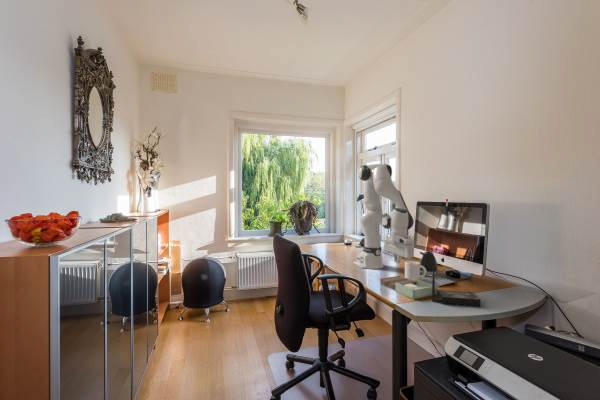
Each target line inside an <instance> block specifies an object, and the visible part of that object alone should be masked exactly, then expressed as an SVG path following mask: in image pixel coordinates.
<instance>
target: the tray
mask: <svg viewBox="0 0 600 400" xmlns="http://www.w3.org/2000/svg"><path fill="white" fill-rule="evenodd" d="M416 282H417V286H418V287H422V288H419V289H411V288H409V287H406V286H404V285H401V284H399V283H395V290H394V291H395V292H396V293H398V294H400V295H402V296H405V297H407V298H408V299H412V300H413V301H414V300H417V299H423V298H429V297H432V283H430V282H428V281H425V280H421V279H417V281H416ZM437 290H438V285H436V284H435V296H437Z"/></svg>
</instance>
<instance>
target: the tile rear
mask: <svg viewBox="0 0 600 400" xmlns="http://www.w3.org/2000/svg"><path fill="white" fill-rule="evenodd" d="M404 286H406V287H409V288H411V289H413V288H416V287H418V286H416V285H414V284H405V285H404Z"/></svg>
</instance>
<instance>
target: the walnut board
mask: <svg viewBox="0 0 600 400" xmlns="http://www.w3.org/2000/svg"><path fill="white" fill-rule="evenodd" d="M395 283H399V284H401V285H405V284H414V285H416V286H417V281H416V282H415V281H412V280H409V279H407V278H405V276H404V277H403V276H401V275H395V276H389V277H383V278H380V283H379V284H380V285H382V286H384V287H387V288H388V289H391V290H393V291H395Z"/></svg>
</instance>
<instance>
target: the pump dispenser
mask: <svg viewBox="0 0 600 400" xmlns="http://www.w3.org/2000/svg"><path fill="white" fill-rule="evenodd" d="M419 254H421V255H422V257H421V260H420V262H419V263H420V265H422V266H424V267H425V269H426V275H433V267H434V276H435V275H436V274H437V273H438V262H437V258H436V257H435V254H434V253H433V252H432V251H430V250H428V251H426V250H425V252H422V251H420V252H419ZM420 272H421V275H423V274H424V270H423V269H422V268H420Z"/></svg>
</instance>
